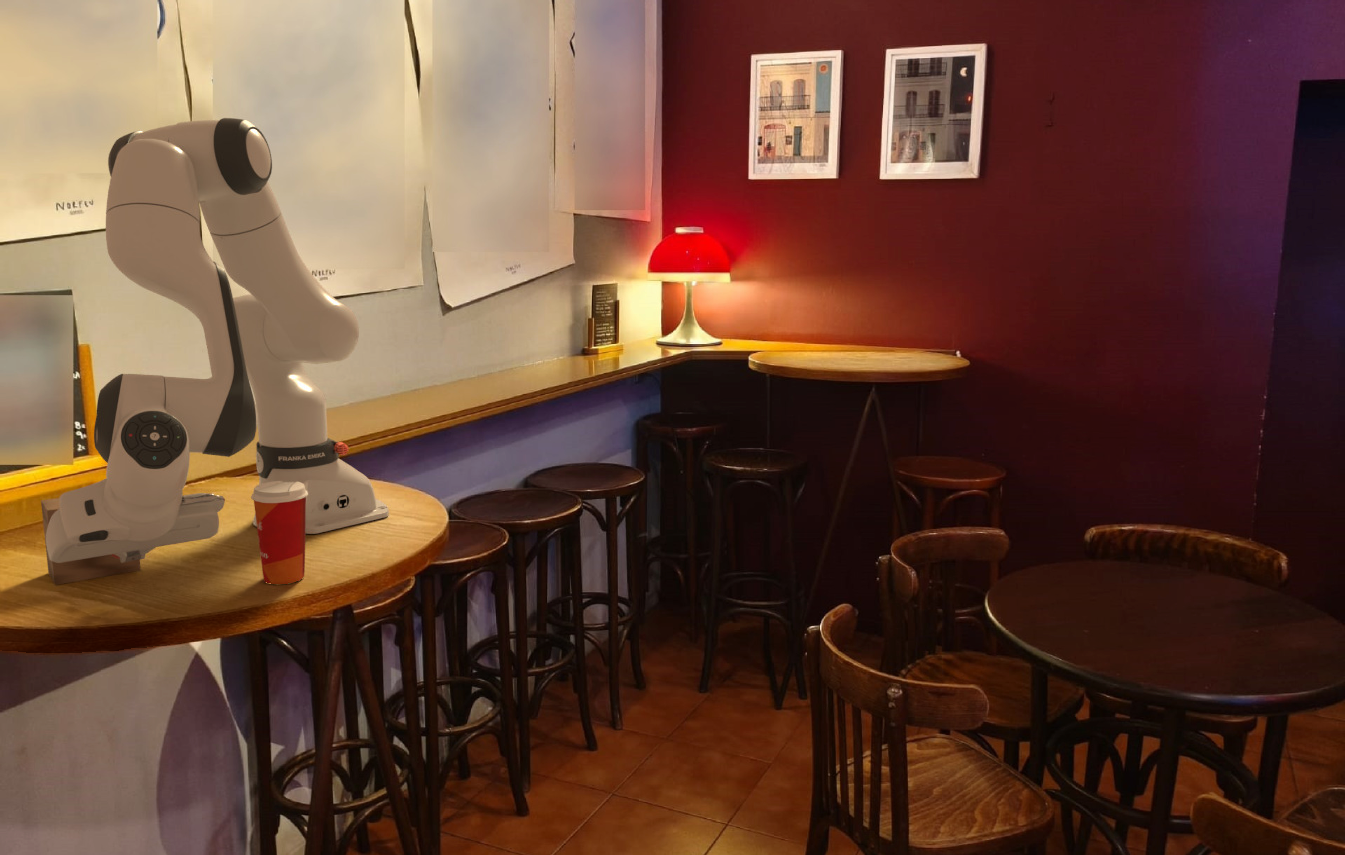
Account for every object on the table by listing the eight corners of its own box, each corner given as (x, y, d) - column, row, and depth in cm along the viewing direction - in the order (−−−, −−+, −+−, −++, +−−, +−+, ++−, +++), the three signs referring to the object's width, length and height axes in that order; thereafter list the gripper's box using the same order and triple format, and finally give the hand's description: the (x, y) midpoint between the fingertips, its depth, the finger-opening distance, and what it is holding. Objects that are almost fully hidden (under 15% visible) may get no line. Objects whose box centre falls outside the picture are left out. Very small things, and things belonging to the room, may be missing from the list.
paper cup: (272, 567, 151) (267, 478, 148) (321, 571, 150) (317, 481, 147) (245, 586, 143) (239, 492, 140) (296, 589, 142) (291, 495, 140)
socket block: (132, 558, 153) (126, 489, 150) (142, 572, 147) (136, 500, 145) (48, 572, 146) (41, 500, 144) (55, 587, 141) (48, 512, 138)
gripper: (221, 473, 135) (206, 524, 145) (45, 495, 123) (41, 549, 132) (232, 513, 133) (217, 562, 142) (54, 540, 120) (50, 591, 130)
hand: (131, 556), depth 137 cm, fingers closed
